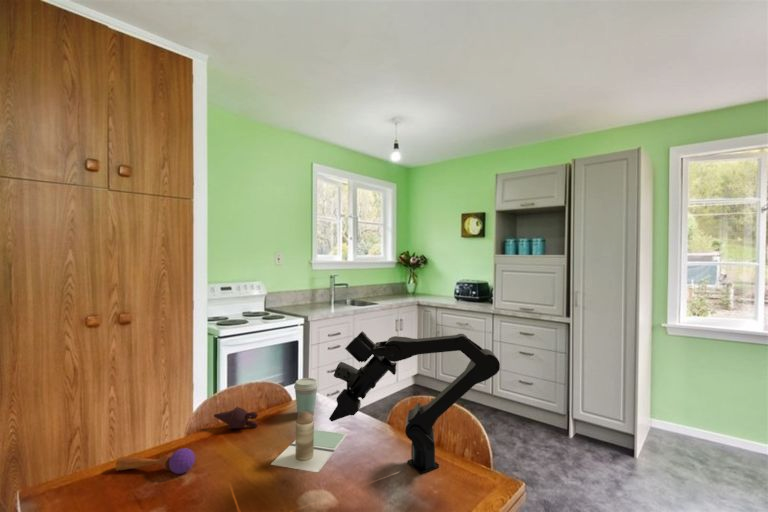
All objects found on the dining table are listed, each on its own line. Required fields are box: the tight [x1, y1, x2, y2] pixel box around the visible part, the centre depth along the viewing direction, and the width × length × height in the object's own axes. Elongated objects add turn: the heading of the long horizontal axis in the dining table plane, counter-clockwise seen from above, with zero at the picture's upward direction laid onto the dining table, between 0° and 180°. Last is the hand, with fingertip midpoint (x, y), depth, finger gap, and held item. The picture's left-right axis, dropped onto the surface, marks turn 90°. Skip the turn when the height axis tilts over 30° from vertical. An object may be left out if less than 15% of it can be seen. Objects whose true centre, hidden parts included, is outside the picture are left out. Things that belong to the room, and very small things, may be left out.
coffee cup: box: [293, 377, 319, 417], centre depth 133 cm, size 8×8×12 cm
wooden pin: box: [295, 411, 315, 461], centre depth 105 cm, size 5×5×12 cm
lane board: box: [270, 428, 348, 473], centre depth 109 cm, size 22×14×1 cm, turn 165°
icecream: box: [213, 406, 259, 430], centre depth 122 cm, size 7×7×15 cm
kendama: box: [115, 447, 196, 475], centre depth 98 cm, size 6×6×20 cm
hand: (334, 412), depth 104 cm, fingers open, 9 cm apart
